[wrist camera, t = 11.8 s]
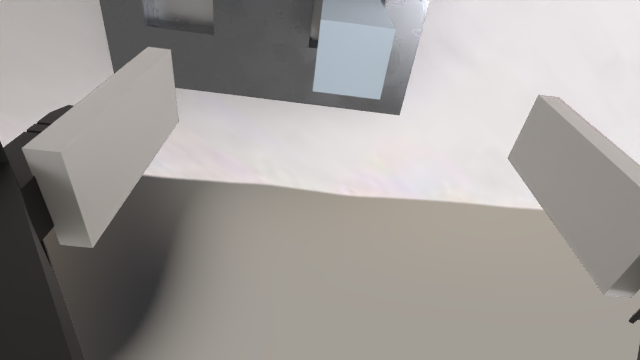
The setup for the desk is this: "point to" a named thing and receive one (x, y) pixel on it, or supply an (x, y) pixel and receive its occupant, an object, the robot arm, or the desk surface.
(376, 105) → the dark grey base plate
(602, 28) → the desk surface
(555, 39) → the desk surface
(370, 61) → the pale blue rectangular prism
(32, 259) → the robot arm
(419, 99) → the desk surface
